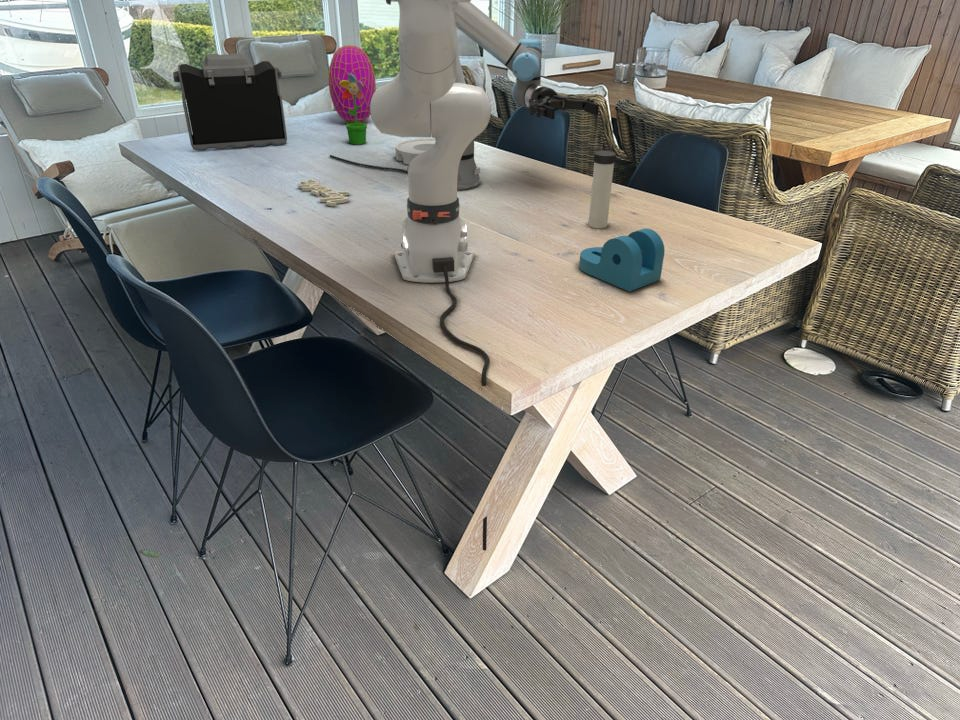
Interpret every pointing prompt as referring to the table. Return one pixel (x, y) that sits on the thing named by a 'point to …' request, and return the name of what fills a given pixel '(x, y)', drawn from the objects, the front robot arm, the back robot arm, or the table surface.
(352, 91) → the potted flower
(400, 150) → the ashtray
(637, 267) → the camera mount
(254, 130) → the electronic device
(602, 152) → the lid
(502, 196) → the table surface
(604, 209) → the beige long cylinder
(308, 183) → the decorative sign
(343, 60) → the decorative egg
